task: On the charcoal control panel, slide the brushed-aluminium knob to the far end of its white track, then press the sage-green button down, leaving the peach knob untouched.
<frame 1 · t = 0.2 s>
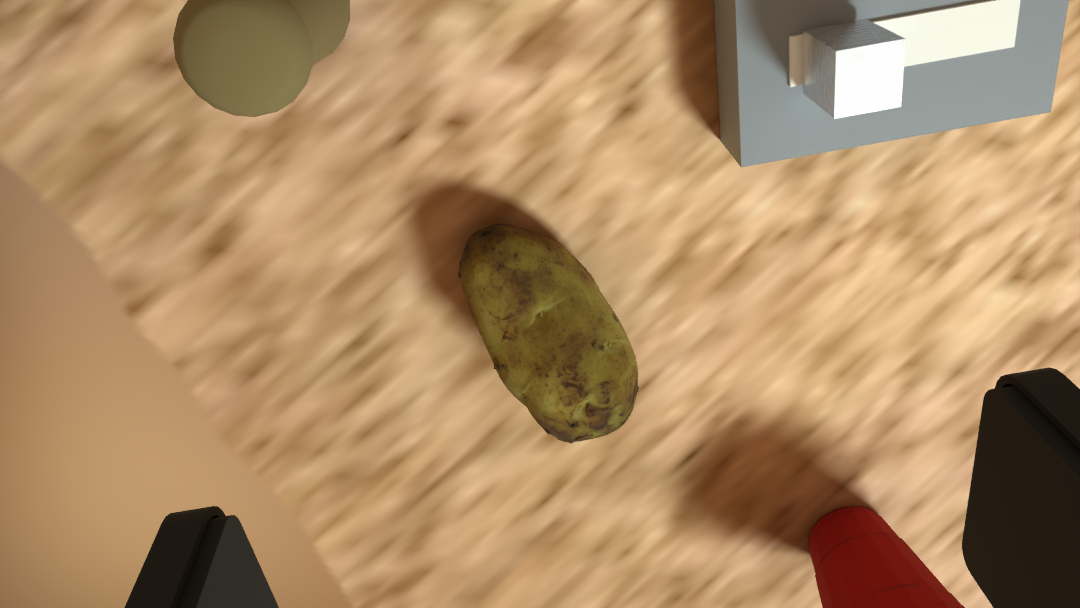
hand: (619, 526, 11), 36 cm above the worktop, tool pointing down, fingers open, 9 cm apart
cork: (288, 3, 41), on the worktop
potato: (546, 296, 51), on the worktop
plastic cup: (844, 533, 63), on the worktop
slider knob: (850, 67, 38), point 7 cm above the worktop, slide at 0.0 cm
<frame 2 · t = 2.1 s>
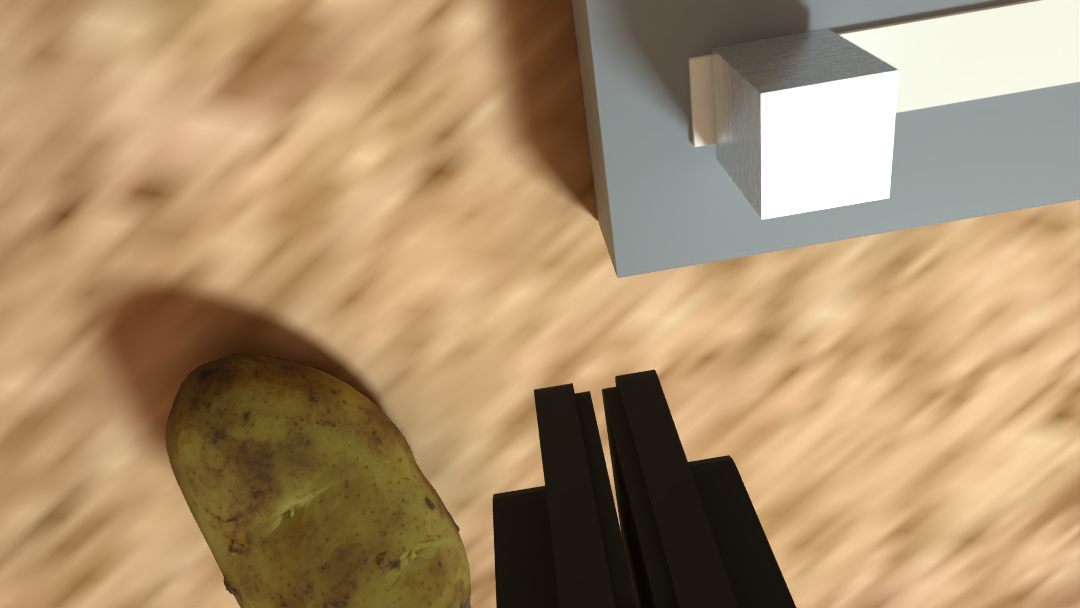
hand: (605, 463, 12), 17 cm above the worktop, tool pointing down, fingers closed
potato: (343, 448, 33), on the worktop
slider knob: (796, 119, 20), point 7 cm above the worktop, slide at 0.0 cm
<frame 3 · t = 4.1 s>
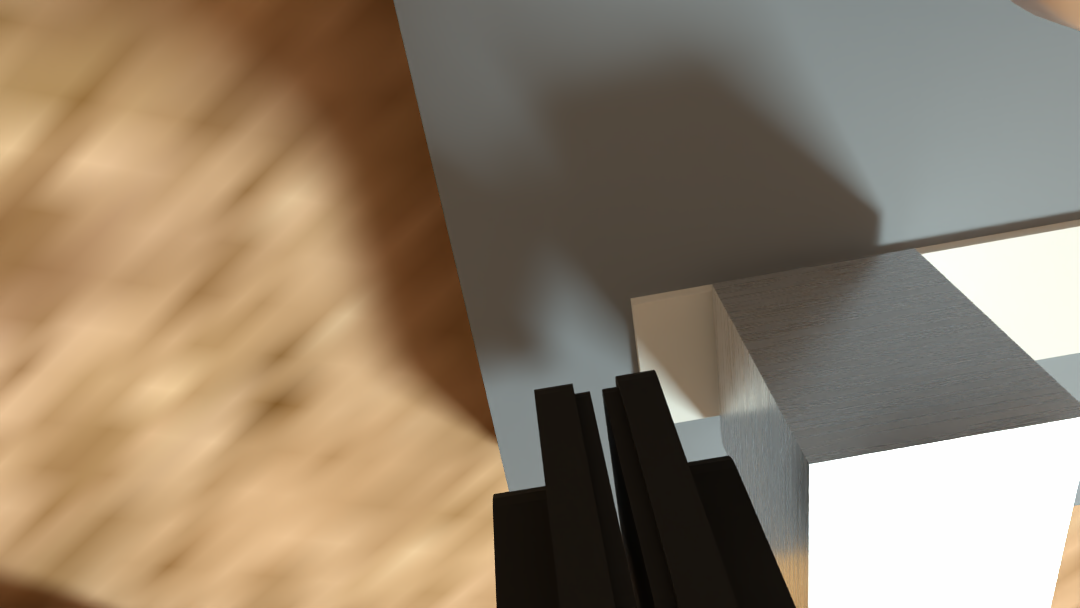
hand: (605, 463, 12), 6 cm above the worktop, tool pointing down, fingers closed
slider knob: (865, 431, 11), point 7 cm above the worktop, slide at 0.7 cm, touching gripper
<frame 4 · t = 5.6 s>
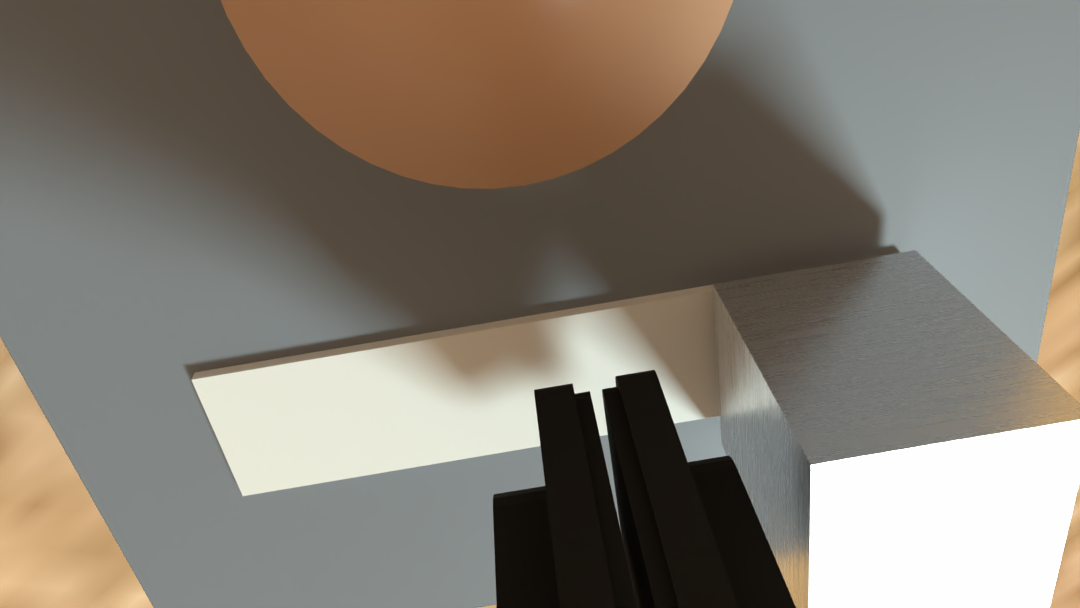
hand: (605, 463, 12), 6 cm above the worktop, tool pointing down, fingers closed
slider knob: (866, 432, 11), point 6 cm above the worktop, slide at 7.5 cm, touching gripper
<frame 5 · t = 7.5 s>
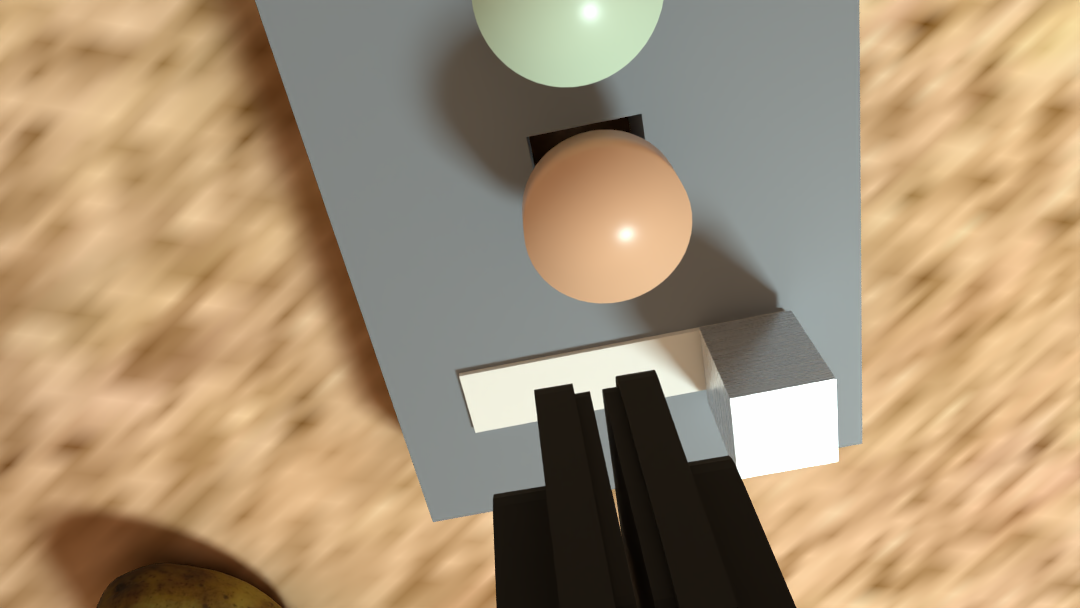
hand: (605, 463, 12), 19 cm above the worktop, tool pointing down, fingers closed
panel: (585, 167, 29), on the worktop
peach knob: (598, 197, 24), point 5 cm above the worktop, slide at 0.0 cm
slider knob: (765, 391, 26), point 7 cm above the worktop, slide at 7.5 cm
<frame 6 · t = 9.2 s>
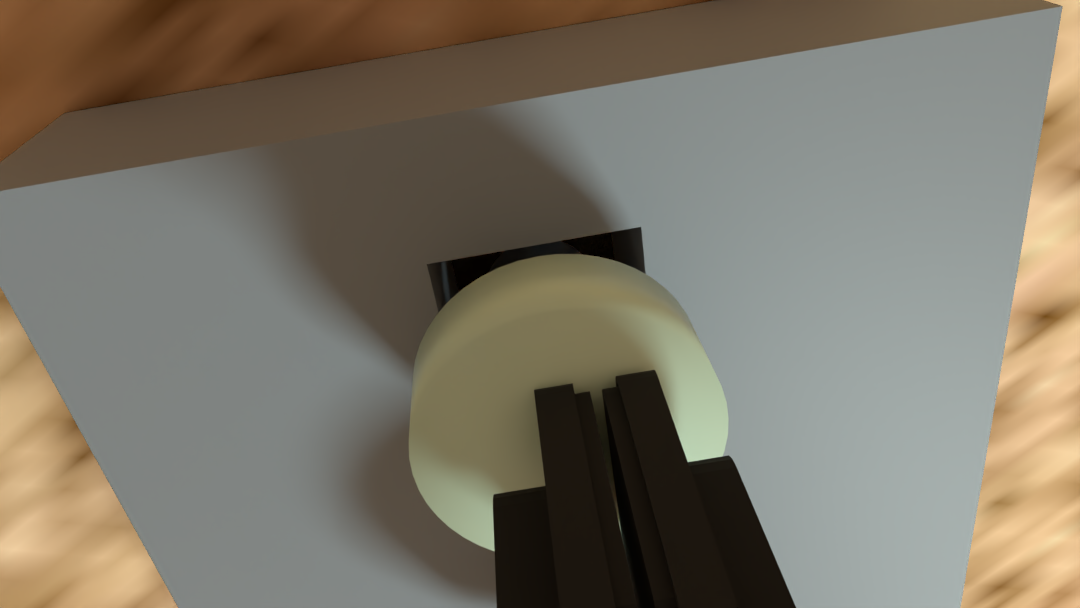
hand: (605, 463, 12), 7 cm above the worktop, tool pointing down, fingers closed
panel: (571, 481, 21), on the worktop
sage button: (553, 355, 13), point 5 cm above the worktop, slide at 0.9 cm, touching gripper
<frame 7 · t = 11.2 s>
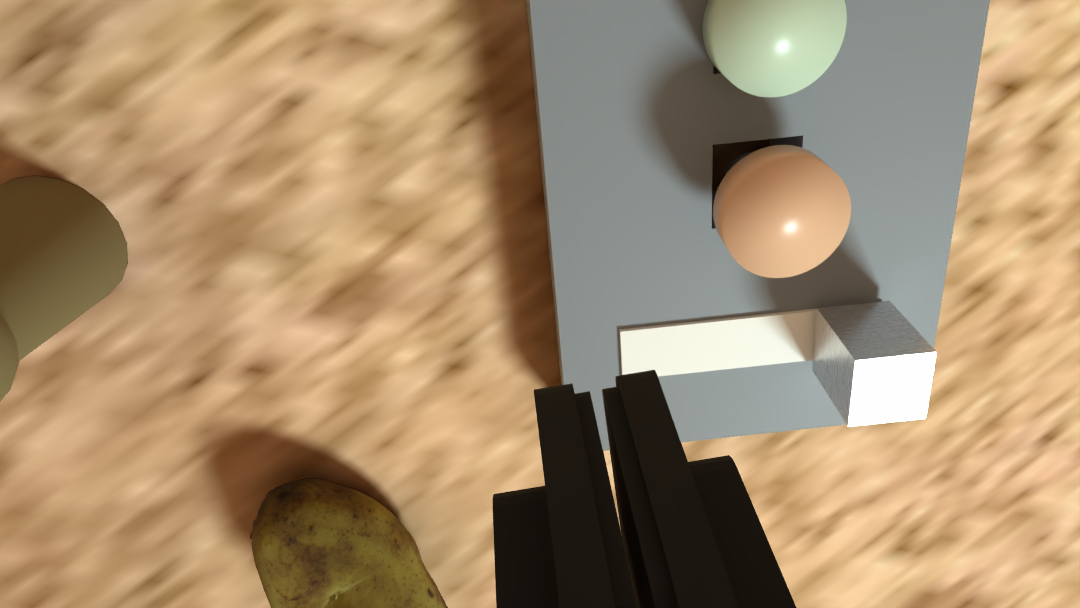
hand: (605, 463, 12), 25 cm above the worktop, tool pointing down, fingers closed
cork: (56, 241, 36), on the worktop
panel: (728, 173, 36), on the worktop
potato: (368, 543, 45), on the worktop
sage button: (759, 18, 29), point 4 cm above the worktop, slide at 1.8 cm
peach knob: (767, 196, 30), point 5 cm above the worktop, slide at 0.0 cm
slider knob: (869, 361, 33), point 6 cm above the worktop, slide at 7.5 cm
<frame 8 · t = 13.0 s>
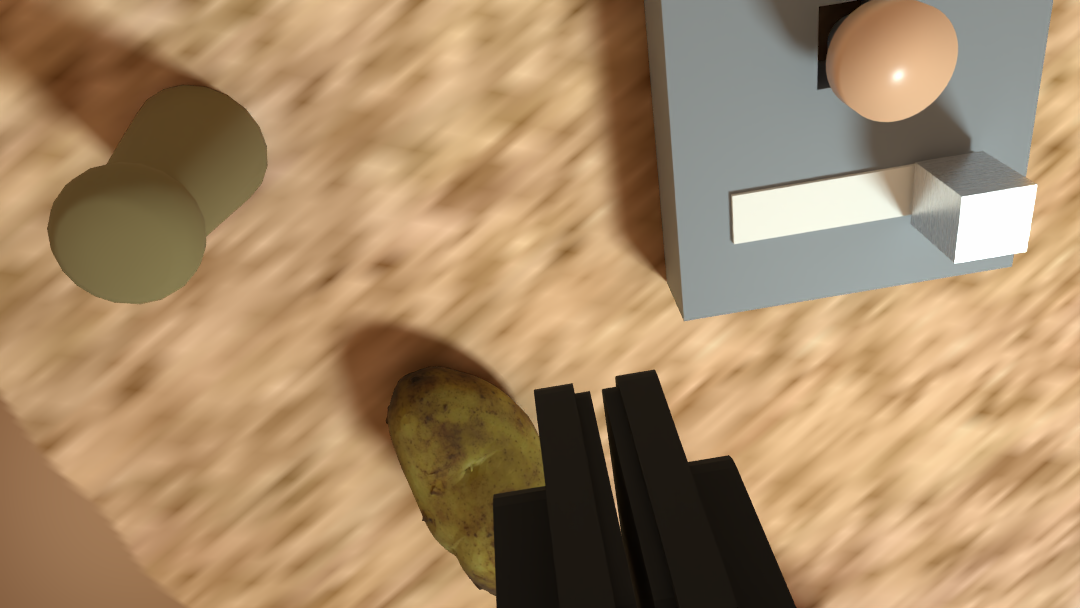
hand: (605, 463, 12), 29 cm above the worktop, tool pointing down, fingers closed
cork: (201, 148, 39), on the worktop
panel: (822, 45, 38), on the worktop
potato: (485, 432, 48), on the worktop
peach knob: (873, 50, 33), point 5 cm above the worktop, slide at 0.0 cm
slider knob: (969, 205, 36), point 6 cm above the worktop, slide at 7.5 cm
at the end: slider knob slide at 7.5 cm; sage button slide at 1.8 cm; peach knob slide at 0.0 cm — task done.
